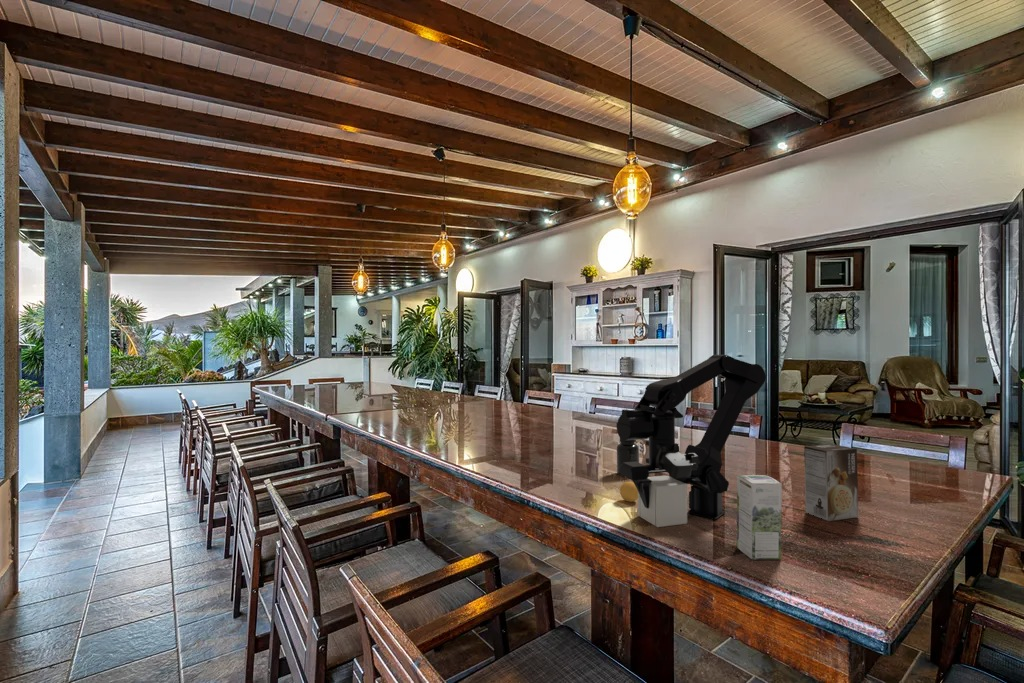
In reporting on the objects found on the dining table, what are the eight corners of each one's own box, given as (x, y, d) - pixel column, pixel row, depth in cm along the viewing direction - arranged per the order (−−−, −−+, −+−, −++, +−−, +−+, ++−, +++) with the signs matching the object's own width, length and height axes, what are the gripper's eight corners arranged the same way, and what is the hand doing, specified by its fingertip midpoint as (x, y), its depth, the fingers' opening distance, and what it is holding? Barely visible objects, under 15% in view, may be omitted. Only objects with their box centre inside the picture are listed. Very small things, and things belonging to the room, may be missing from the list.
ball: (643, 501, 124) (643, 481, 124) (633, 505, 120) (633, 485, 120) (626, 497, 127) (626, 478, 127) (616, 501, 124) (616, 481, 124)
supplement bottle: (637, 471, 154) (637, 434, 154) (640, 477, 147) (640, 438, 147) (615, 471, 155) (615, 433, 155) (618, 476, 148) (617, 437, 148)
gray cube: (666, 512, 115) (666, 475, 115) (687, 523, 108) (687, 484, 108) (638, 515, 113) (638, 478, 113) (657, 527, 106) (657, 486, 106)
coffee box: (834, 509, 118) (833, 443, 118) (859, 518, 112) (858, 448, 112) (804, 512, 115) (803, 445, 116) (828, 521, 109) (827, 450, 109)
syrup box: (764, 547, 95) (764, 473, 95) (782, 560, 89) (782, 481, 89) (736, 548, 95) (735, 473, 95) (752, 561, 89) (751, 482, 89)
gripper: (646, 447, 100) (646, 522, 100) (720, 442, 106) (720, 513, 105) (618, 437, 111) (619, 505, 111) (687, 433, 116) (687, 498, 116)
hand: (662, 506), depth 110 cm, fingers closed on gray cube, 8 cm apart
